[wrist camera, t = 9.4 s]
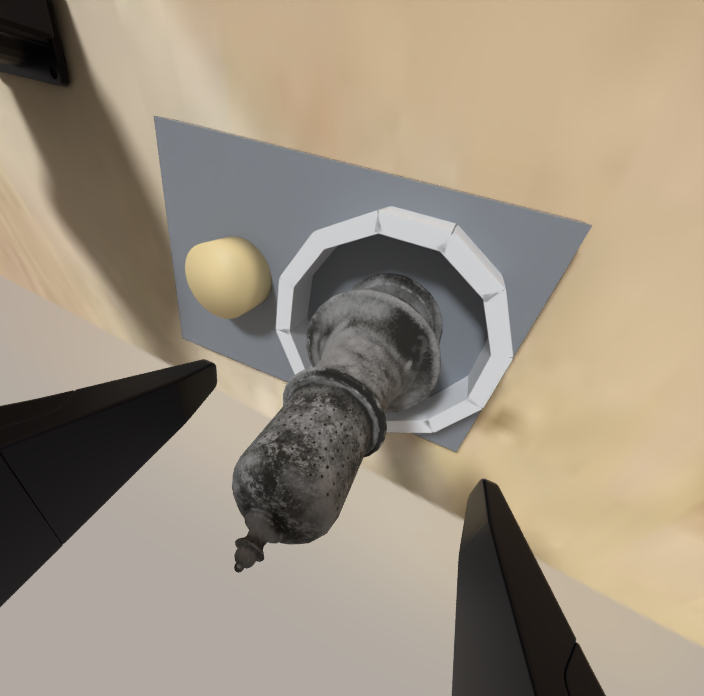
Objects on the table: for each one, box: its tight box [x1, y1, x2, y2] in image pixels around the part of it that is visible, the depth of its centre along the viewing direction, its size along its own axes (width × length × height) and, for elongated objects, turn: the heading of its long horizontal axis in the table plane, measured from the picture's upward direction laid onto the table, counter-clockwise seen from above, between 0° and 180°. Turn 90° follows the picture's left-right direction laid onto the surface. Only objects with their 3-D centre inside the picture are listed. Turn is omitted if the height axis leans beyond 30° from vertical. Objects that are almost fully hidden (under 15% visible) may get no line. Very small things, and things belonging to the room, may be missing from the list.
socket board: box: [154, 116, 592, 452], centre depth 16 cm, size 20×13×3 cm, turn 78°
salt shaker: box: [232, 273, 442, 573], centre depth 11 cm, size 6×6×12 cm
